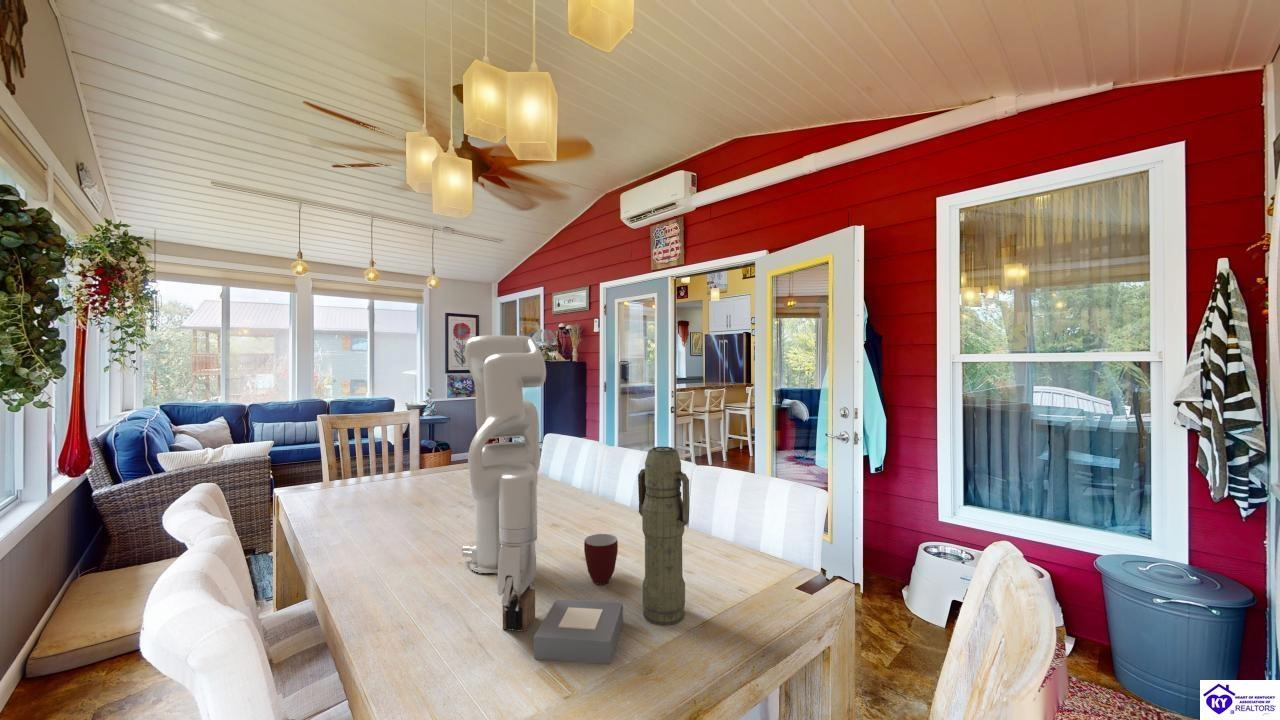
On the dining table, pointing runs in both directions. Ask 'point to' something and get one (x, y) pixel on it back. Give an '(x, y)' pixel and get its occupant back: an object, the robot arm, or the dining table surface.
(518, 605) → the robot arm
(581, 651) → the slate pedestal
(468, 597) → the dining table surface
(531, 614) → the walnut block
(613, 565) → the mug
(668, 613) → the thermos
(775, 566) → the dining table surface
